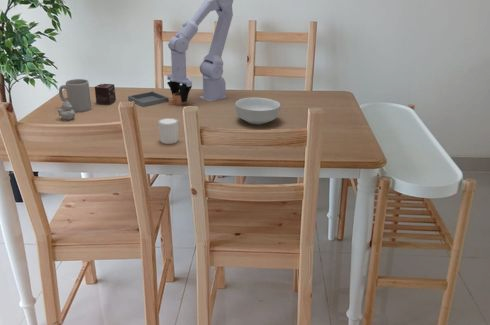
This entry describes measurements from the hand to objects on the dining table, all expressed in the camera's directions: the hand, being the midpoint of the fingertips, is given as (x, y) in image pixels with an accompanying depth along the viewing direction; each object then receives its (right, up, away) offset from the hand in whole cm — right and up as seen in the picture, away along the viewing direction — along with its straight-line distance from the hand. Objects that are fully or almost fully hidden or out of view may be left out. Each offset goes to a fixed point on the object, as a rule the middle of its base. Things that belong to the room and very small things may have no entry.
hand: (180, 100), depth 197 cm
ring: (-1, -1, 0) cm, 2 cm away
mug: (-40, -5, -8) cm, 41 cm away
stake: (0, -1, +1) cm, 2 cm away
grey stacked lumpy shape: (-39, -10, -20) cm, 45 cm away
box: (-30, -1, 0) cm, 31 cm away
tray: (-13, -1, +2) cm, 14 cm away
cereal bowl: (+32, -10, -17) cm, 37 cm away
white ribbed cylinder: (+1, -19, -37) cm, 42 cm away
